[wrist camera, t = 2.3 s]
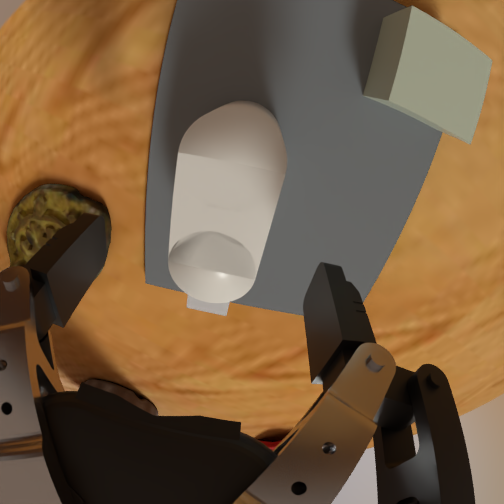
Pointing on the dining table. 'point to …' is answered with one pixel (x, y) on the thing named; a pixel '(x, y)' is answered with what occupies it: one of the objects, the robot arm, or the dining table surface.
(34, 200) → the olive teardrop lump
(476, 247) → the dining table surface
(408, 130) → the mat
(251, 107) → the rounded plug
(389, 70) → the block
